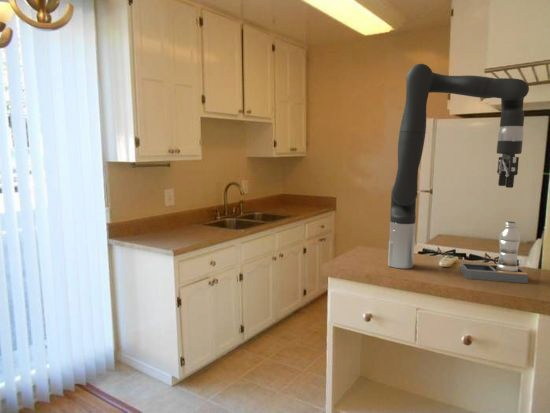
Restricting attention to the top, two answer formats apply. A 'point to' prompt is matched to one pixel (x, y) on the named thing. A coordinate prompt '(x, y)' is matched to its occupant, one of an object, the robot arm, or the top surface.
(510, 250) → the plastic bottle
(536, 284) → the top surface
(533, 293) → the top surface
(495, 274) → the grey tray
